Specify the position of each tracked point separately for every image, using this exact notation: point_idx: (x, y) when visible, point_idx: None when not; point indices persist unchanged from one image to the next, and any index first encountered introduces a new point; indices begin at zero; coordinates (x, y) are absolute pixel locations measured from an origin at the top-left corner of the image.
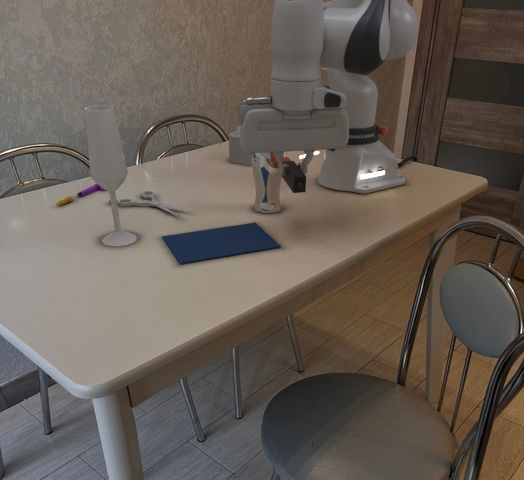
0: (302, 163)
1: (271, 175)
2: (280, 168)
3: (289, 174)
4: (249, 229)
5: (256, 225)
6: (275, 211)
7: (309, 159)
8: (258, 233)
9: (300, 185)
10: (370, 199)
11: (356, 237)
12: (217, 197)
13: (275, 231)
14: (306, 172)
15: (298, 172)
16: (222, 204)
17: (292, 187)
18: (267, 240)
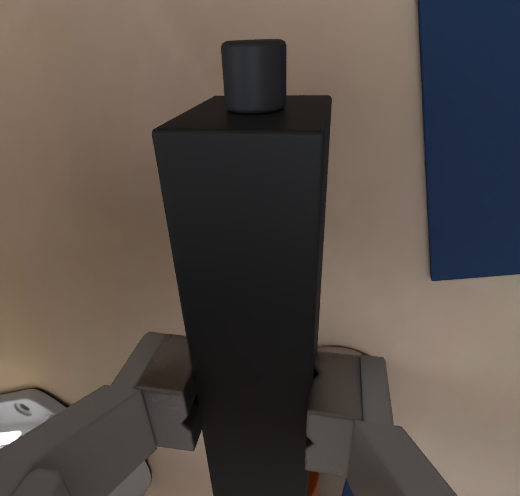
0: (155, 428)
1: (332, 481)
2: (389, 413)
3: (317, 309)
4: (490, 220)
5: (440, 252)
6: (318, 349)
7: (60, 427)
8: (469, 168)
9: (257, 43)
10: (18, 355)
11: (53, 69)
12: (469, 486)
13: (372, 193)
14: (149, 335)
15: (225, 280)
16: (477, 444)
17: (328, 139)
18: (460, 75)
